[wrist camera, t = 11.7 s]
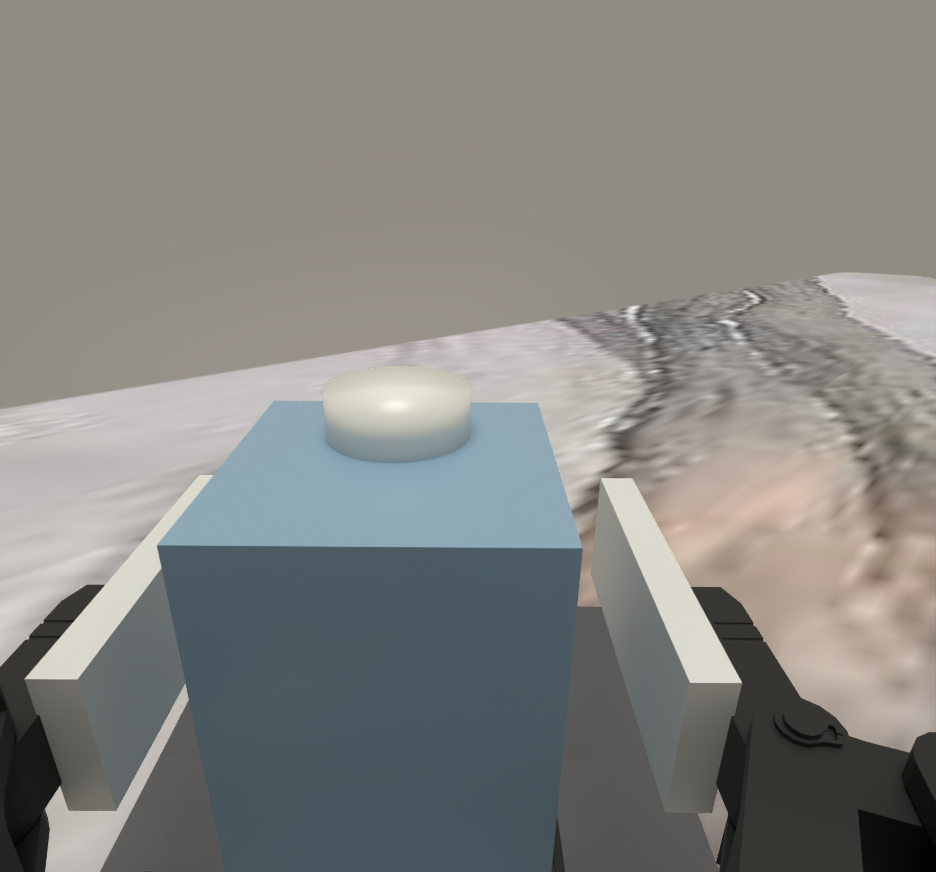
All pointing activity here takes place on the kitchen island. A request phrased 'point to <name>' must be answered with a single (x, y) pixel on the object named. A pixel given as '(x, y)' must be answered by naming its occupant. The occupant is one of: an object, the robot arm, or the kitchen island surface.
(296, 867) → the block
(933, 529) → the kitchen island surface
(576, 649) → the plate
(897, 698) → the kitchen island surface
